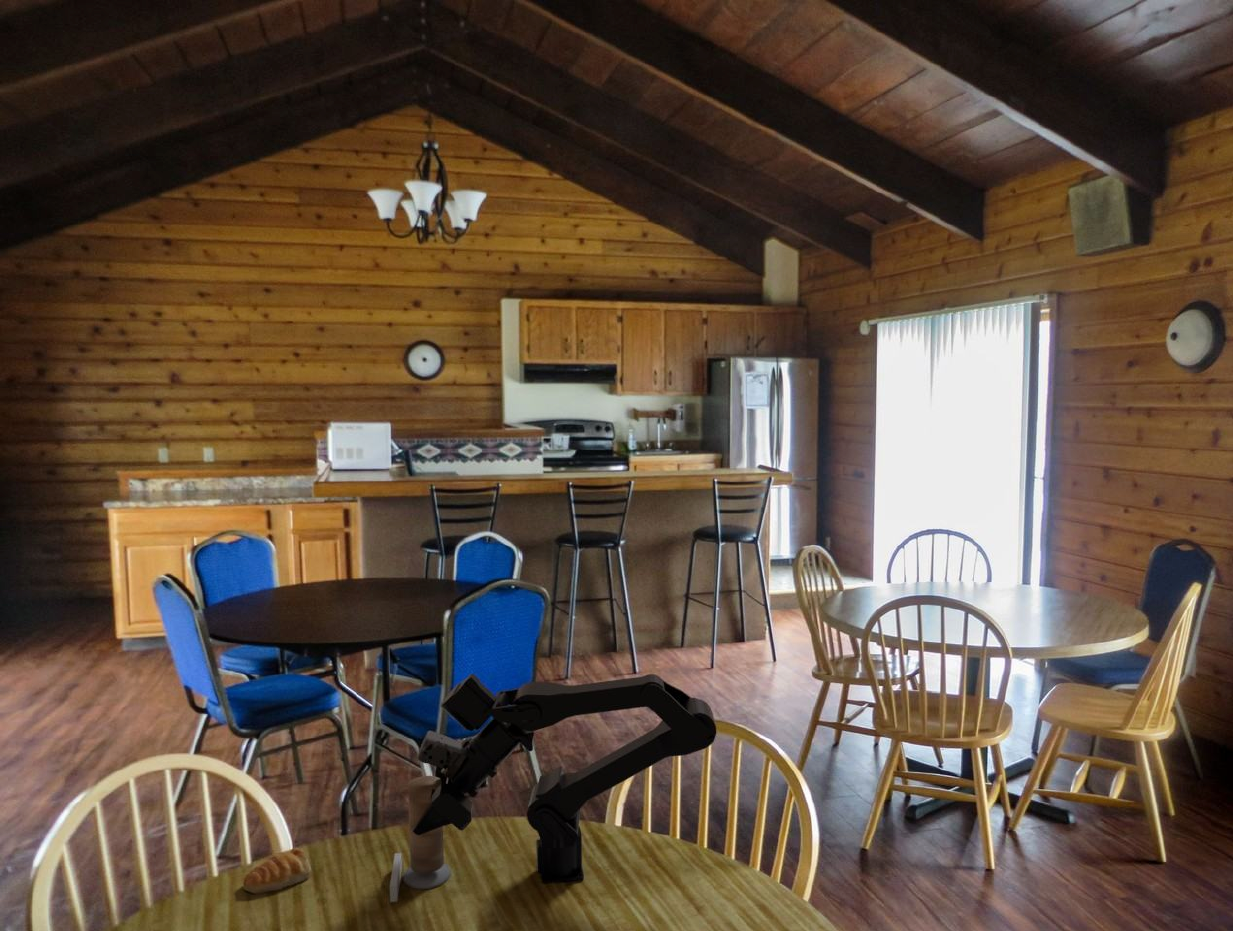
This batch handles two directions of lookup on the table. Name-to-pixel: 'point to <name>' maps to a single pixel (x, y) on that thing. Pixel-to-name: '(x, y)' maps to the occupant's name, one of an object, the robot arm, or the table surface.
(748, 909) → the table surface
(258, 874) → the pastry
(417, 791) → the walnut post
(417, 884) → the slate mat
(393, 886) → the acrylic wall
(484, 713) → the robot arm
